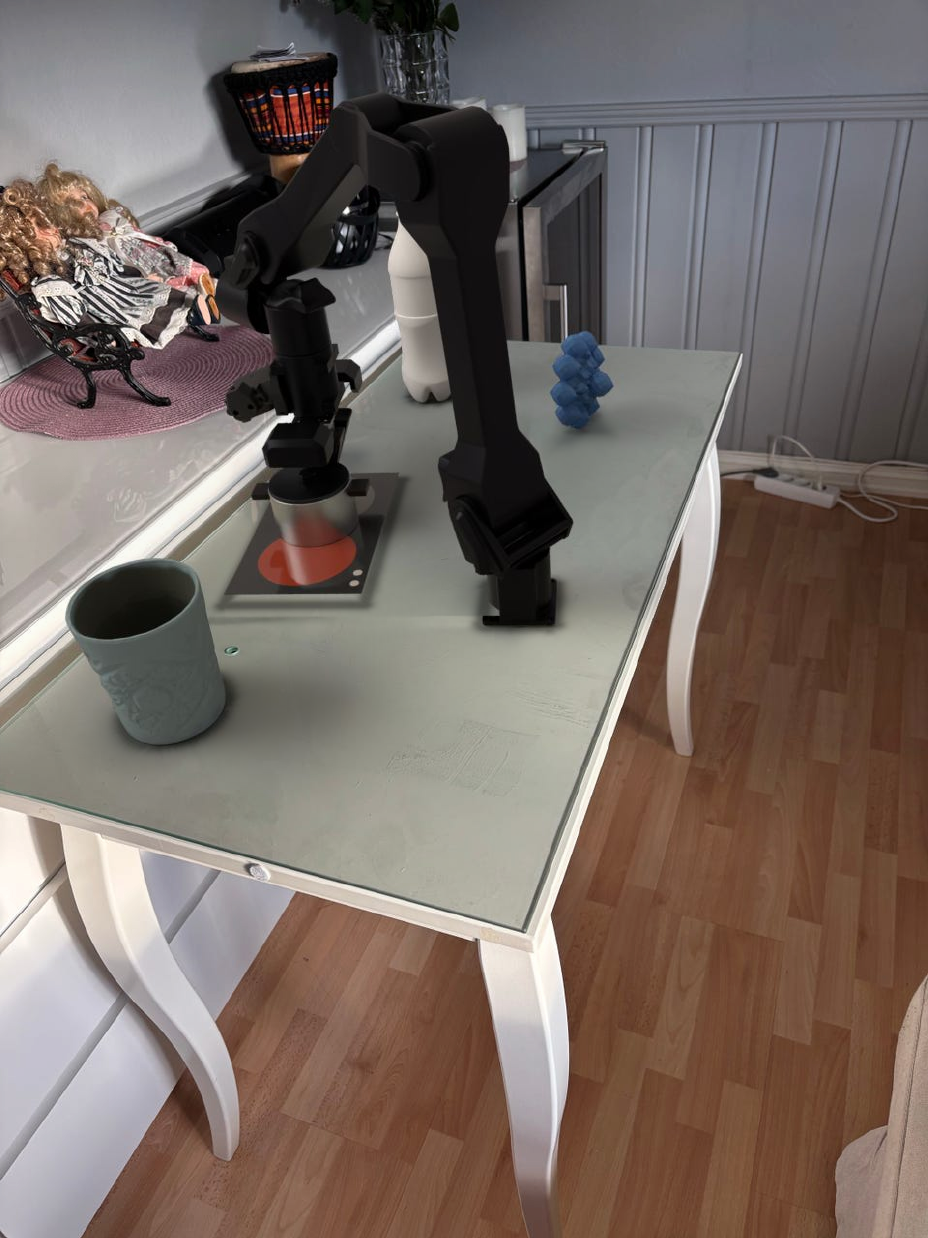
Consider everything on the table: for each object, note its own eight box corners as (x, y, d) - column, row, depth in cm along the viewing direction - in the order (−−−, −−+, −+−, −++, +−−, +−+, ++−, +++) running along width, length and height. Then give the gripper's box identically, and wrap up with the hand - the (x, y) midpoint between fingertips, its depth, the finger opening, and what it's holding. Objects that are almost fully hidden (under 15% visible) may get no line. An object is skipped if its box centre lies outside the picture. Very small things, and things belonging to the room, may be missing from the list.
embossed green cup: (181, 655, 82) (140, 544, 74) (262, 692, 77) (227, 578, 69) (90, 726, 75) (35, 613, 68) (173, 772, 71) (123, 655, 63)
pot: (367, 545, 91) (358, 491, 87) (253, 548, 92) (238, 496, 88) (380, 500, 97) (371, 449, 93) (273, 504, 99) (260, 453, 95)
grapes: (594, 456, 103) (594, 355, 96) (539, 446, 106) (536, 347, 99) (630, 411, 111) (633, 315, 104) (578, 404, 114) (577, 309, 106)
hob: (365, 605, 85) (363, 595, 84) (222, 606, 87) (219, 596, 86) (403, 480, 103) (402, 470, 102) (284, 482, 105) (281, 473, 104)
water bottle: (399, 389, 122) (371, 189, 106) (450, 378, 123) (430, 179, 108) (413, 411, 116) (385, 203, 101) (466, 399, 118) (447, 192, 102)
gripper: (250, 310, 97) (280, 440, 107) (192, 389, 83) (233, 531, 93) (352, 306, 96) (373, 438, 106) (310, 387, 82) (339, 530, 92)
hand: (329, 481), depth 99 cm, fingers closed
